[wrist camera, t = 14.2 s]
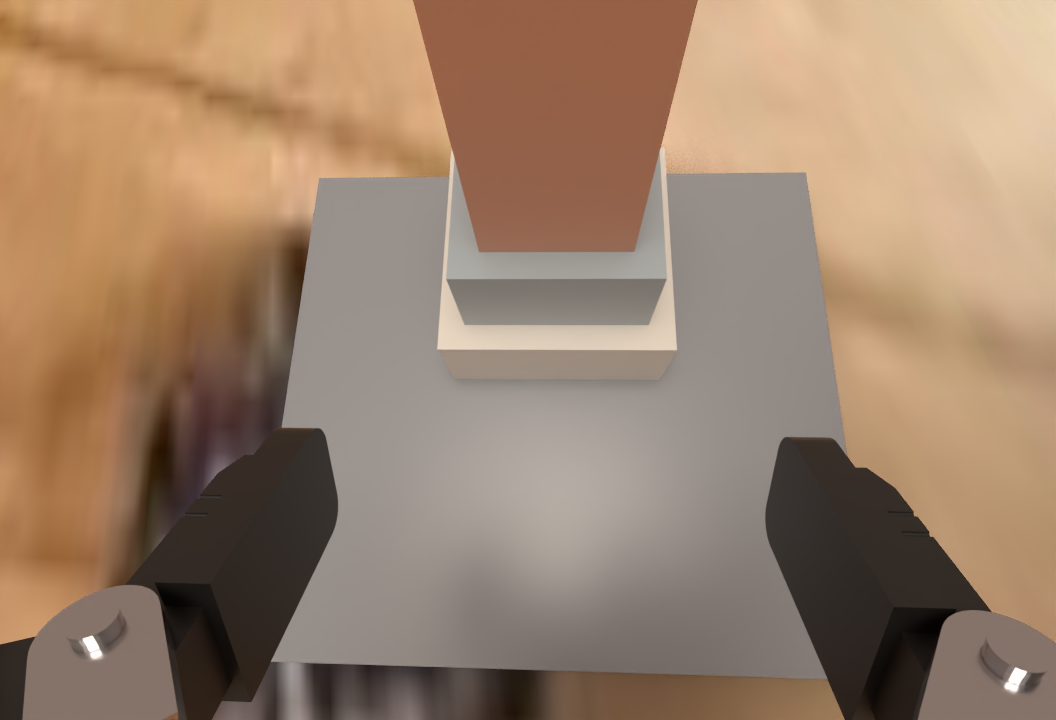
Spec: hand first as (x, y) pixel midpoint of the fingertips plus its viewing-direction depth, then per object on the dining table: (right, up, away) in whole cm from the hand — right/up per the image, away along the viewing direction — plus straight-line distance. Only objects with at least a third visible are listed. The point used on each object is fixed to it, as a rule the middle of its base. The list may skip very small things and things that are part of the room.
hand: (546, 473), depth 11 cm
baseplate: (+1, 0, +16) cm, 16 cm away
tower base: (+1, +5, +17) cm, 18 cm away
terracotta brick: (+1, +8, +9) cm, 12 cm away
